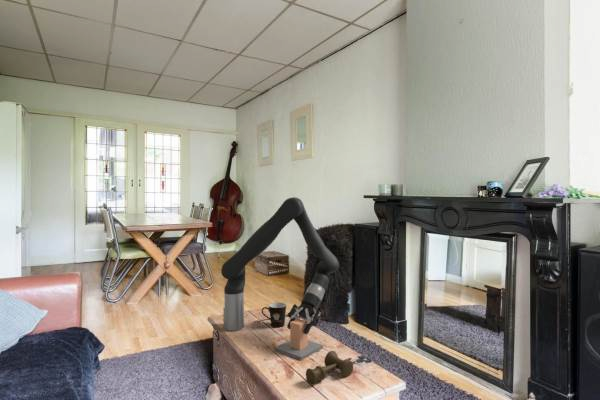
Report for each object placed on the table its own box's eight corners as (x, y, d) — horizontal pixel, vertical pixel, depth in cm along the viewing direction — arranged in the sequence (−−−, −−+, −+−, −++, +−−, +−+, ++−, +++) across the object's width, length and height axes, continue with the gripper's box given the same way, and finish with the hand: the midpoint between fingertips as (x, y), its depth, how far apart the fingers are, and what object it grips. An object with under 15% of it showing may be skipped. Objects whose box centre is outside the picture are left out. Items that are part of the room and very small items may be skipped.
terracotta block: (290, 346, 138) (290, 322, 138) (298, 342, 142) (297, 318, 142) (299, 349, 135) (299, 324, 135) (307, 345, 139) (307, 321, 139)
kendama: (300, 380, 116) (342, 361, 128) (318, 393, 108) (361, 371, 120) (300, 362, 115) (342, 345, 128) (318, 374, 108) (361, 355, 120)
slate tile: (274, 350, 138) (274, 347, 138) (297, 339, 148) (297, 336, 148) (301, 360, 129) (301, 357, 129) (322, 347, 139) (322, 345, 139)
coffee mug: (290, 324, 167) (289, 304, 167) (279, 329, 160) (279, 308, 160) (271, 320, 173) (271, 300, 173) (260, 325, 166) (260, 305, 166)
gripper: (296, 289, 149) (279, 322, 140) (323, 294, 140) (306, 330, 131) (304, 298, 153) (288, 331, 144) (330, 304, 144) (314, 339, 135)
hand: (296, 331), depth 137 cm, fingers open, 8 cm apart
